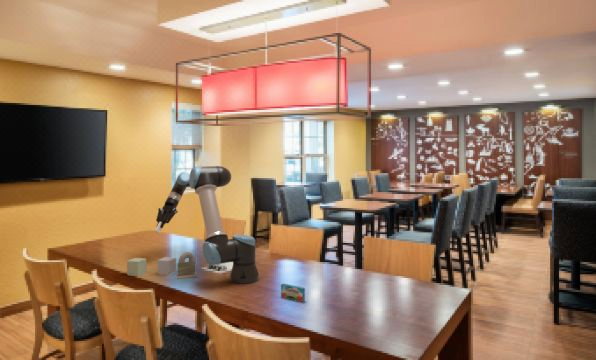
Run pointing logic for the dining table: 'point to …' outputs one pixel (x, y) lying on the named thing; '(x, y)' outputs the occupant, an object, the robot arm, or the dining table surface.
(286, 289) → the flat green printed box
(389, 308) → the dining table surface
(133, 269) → the sage block
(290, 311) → the dining table surface
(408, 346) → the dining table surface
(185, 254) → the donut
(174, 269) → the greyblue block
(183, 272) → the card
